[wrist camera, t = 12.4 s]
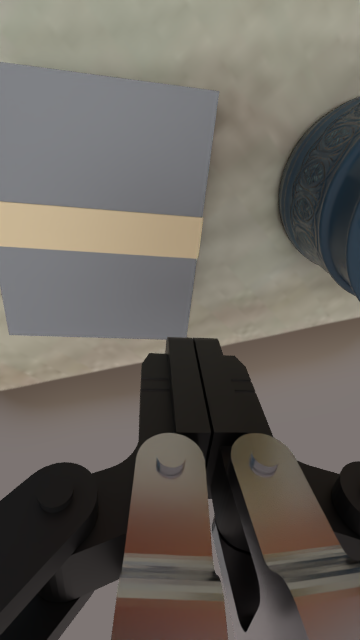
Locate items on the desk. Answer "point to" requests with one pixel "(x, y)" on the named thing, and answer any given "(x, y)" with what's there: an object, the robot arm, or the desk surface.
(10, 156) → the lid
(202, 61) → the desk surface
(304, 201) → the canister
